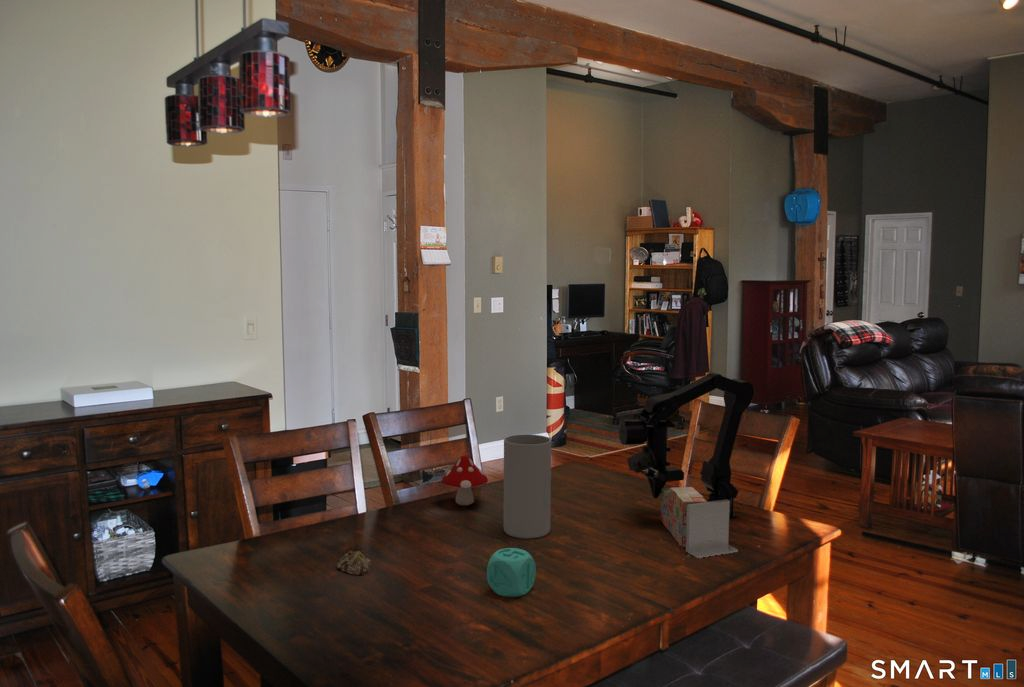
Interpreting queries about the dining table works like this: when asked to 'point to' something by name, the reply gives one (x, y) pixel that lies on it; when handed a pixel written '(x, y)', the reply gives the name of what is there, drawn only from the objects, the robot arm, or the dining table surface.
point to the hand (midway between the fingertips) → (655, 497)
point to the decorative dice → (511, 572)
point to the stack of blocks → (678, 510)
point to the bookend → (708, 529)
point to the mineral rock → (355, 563)
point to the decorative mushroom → (464, 479)
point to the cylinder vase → (527, 486)
